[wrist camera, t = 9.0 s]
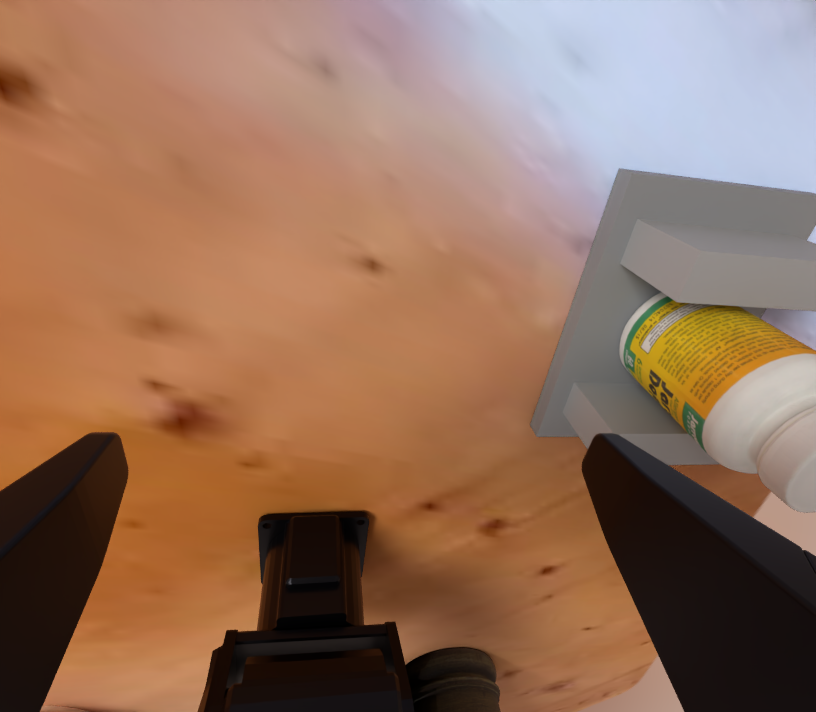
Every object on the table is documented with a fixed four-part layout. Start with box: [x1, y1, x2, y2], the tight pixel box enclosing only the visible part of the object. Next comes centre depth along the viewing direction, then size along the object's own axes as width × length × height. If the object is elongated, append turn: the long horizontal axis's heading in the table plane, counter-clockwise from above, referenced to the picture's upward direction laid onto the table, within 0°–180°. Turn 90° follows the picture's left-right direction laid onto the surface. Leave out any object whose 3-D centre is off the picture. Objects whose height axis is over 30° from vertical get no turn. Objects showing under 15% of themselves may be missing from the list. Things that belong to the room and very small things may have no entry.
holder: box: [530, 169, 816, 465], centre depth 22 cm, size 14×10×5 cm
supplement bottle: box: [619, 292, 816, 513], centre depth 19 cm, size 5×5×10 cm
